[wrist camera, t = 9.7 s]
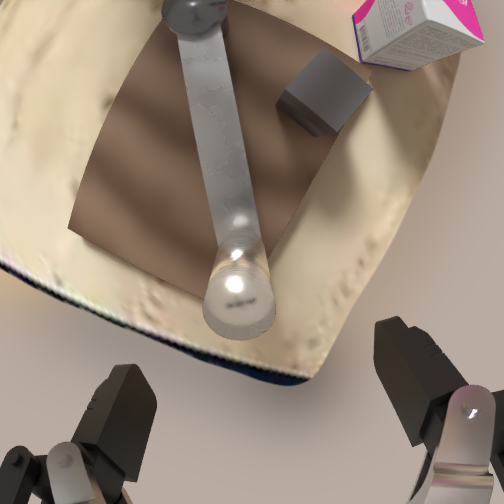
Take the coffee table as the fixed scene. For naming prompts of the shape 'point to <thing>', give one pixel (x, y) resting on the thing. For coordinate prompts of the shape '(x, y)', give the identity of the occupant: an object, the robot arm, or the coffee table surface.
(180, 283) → the brown board
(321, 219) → the coffee table surface
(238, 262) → the lever
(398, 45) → the supplement box
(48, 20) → the coffee table surface
